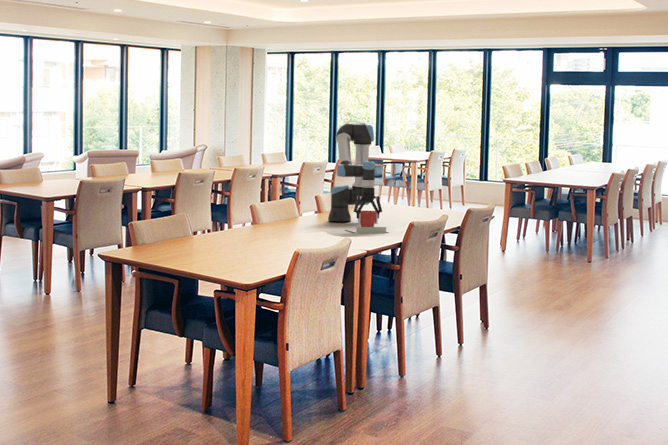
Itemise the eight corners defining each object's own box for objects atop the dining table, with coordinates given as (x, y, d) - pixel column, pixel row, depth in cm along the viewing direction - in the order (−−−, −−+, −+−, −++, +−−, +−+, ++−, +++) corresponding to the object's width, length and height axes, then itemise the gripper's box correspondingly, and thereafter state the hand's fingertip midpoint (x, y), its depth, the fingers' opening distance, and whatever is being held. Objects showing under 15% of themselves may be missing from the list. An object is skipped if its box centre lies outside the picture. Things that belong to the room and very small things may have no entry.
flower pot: (376, 226, 466) (377, 210, 466) (375, 228, 456) (376, 211, 455) (359, 226, 468) (359, 210, 467) (358, 227, 457) (358, 211, 456)
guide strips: (344, 230, 469) (344, 229, 469) (378, 230, 476) (378, 229, 476) (353, 233, 452) (353, 232, 452) (388, 232, 458) (388, 232, 458)
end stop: (356, 232, 454) (356, 227, 453) (384, 232, 459) (385, 226, 458) (357, 233, 452) (357, 227, 451) (386, 232, 457) (386, 227, 457)
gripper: (352, 187, 453) (351, 224, 455) (388, 187, 459) (387, 224, 461) (348, 186, 460) (347, 223, 462) (383, 187, 467) (383, 223, 468)
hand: (367, 224), depth 461 cm, fingers closed on flower pot, 10 cm apart
